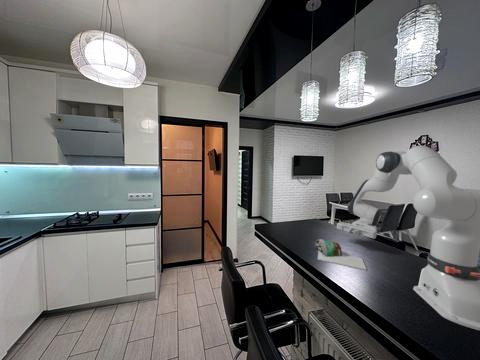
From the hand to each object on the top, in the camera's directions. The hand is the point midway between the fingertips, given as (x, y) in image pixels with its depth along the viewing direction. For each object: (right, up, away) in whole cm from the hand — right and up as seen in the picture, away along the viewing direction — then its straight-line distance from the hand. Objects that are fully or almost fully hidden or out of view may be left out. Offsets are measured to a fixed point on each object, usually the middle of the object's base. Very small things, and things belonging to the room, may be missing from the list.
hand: (351, 232), depth 108 cm
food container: (-11, -6, -7) cm, 14 cm away
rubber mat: (-14, -10, -14) cm, 22 cm away
